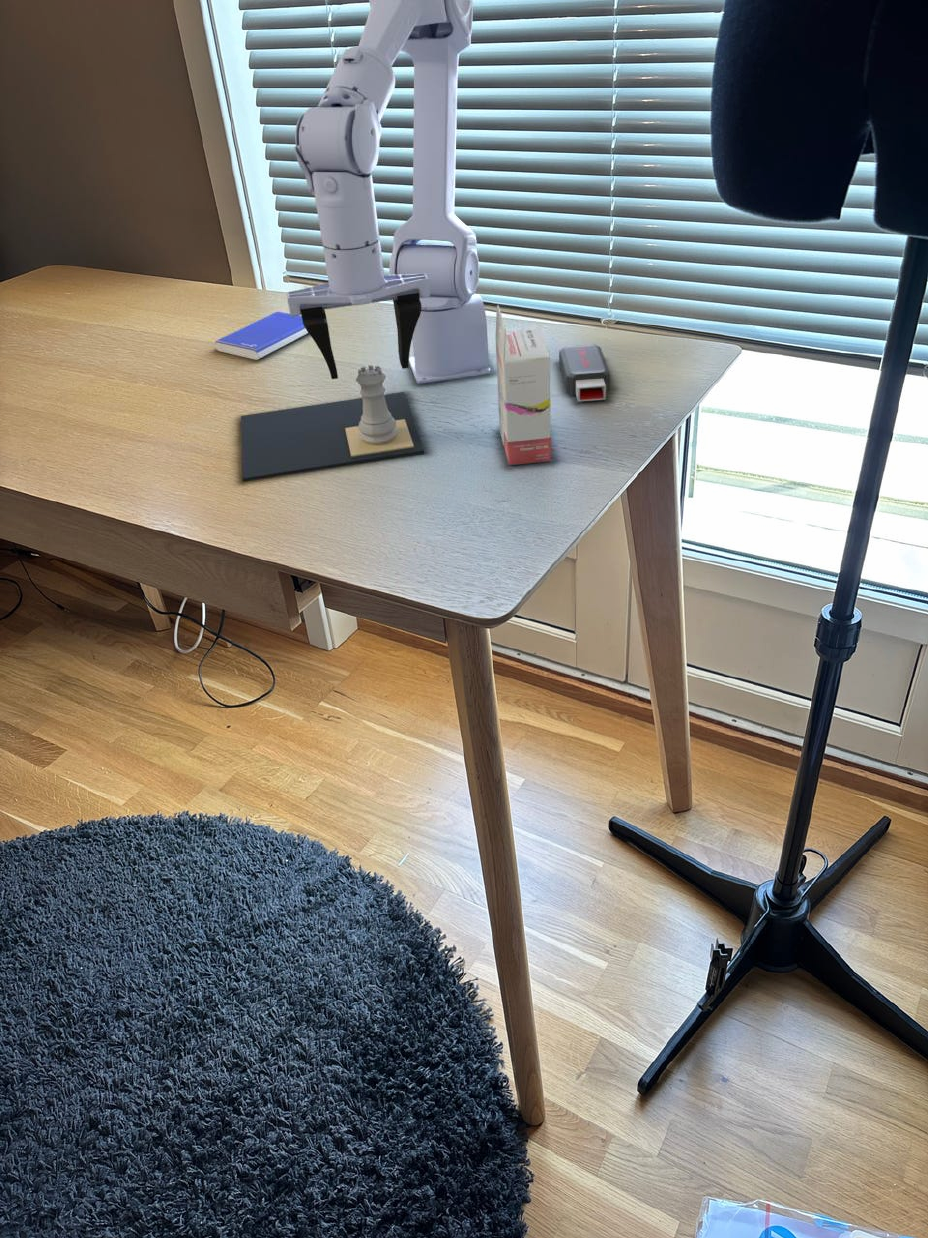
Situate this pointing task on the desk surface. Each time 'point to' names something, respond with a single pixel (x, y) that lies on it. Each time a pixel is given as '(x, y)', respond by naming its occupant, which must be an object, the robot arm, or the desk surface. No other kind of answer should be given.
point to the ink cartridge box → (523, 393)
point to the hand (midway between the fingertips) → (369, 370)
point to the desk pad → (320, 438)
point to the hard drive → (263, 336)
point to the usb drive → (584, 372)
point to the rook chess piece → (375, 408)
